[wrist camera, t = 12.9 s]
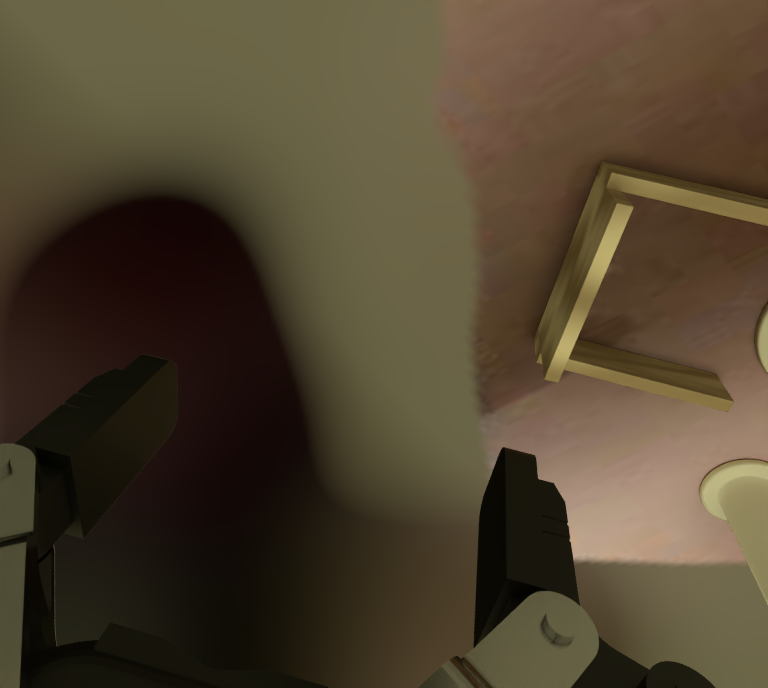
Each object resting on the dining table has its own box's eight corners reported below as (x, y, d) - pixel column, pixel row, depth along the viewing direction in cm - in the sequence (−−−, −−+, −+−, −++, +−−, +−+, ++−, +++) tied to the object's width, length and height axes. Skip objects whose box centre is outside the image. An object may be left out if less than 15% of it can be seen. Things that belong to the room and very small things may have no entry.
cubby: (602, 161, 39) (623, 186, 32) (815, 210, 38) (885, 247, 31) (533, 338, 47) (539, 390, 40) (710, 383, 46) (747, 444, 39)
